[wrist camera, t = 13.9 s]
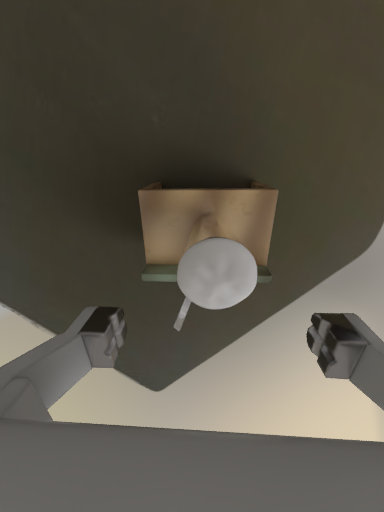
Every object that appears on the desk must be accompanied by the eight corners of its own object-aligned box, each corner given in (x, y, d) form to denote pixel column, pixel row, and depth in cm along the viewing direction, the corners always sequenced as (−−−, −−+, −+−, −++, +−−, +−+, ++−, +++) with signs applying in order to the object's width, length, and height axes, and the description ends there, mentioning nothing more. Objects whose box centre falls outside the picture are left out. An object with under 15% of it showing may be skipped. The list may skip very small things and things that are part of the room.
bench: (258, 181, 23) (287, 193, 15) (250, 246, 27) (271, 283, 19) (154, 182, 24) (130, 193, 16) (160, 245, 27) (142, 281, 19)
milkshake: (169, 235, 19) (143, 304, 10) (211, 195, 18) (226, 234, 9) (201, 266, 21) (204, 351, 12) (244, 232, 19) (286, 299, 10)
